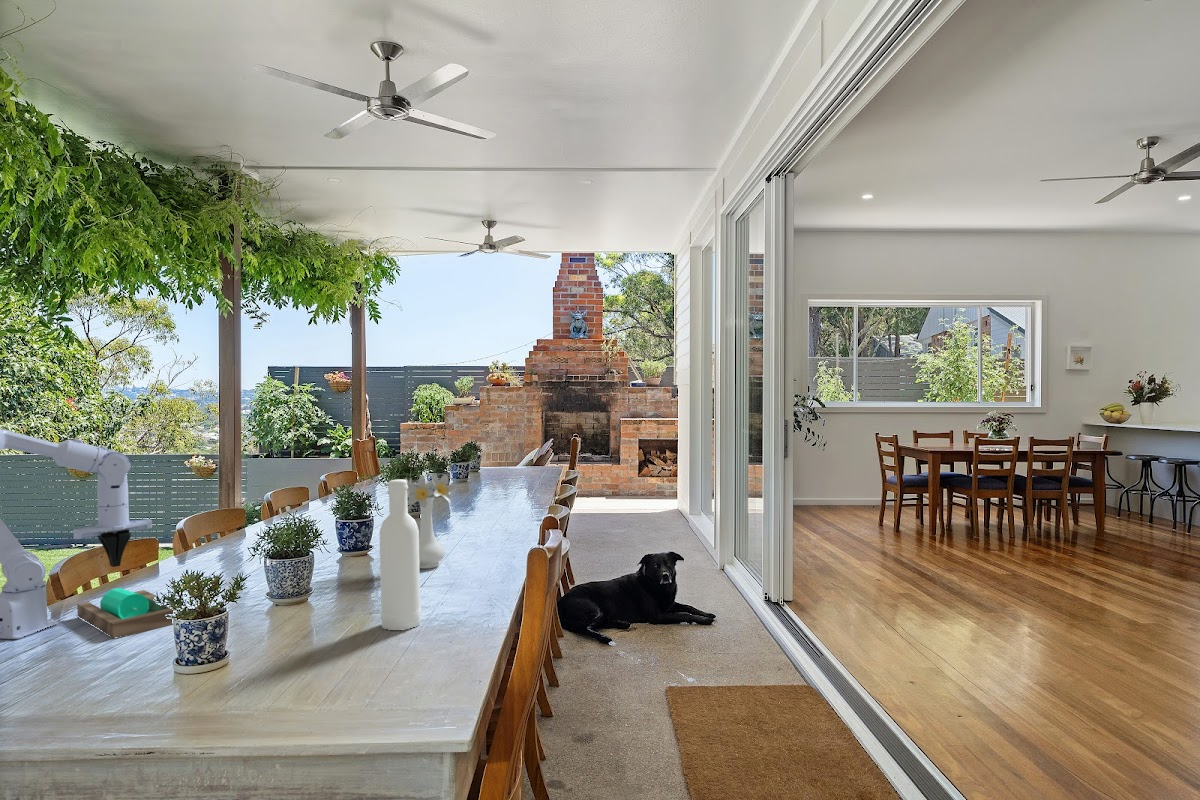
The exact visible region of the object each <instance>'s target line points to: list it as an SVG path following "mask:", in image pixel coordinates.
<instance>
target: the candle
mask: <svg viewBox="0 0 1200 800" xmlns="http://www.w3.org/2000/svg"><path fill="white" fill-rule="evenodd" d="M134 592H135V591H134ZM134 592H133V591H131V590H129V589H124V588H120V587H116V588H113V589H110V590H108V591H107V592H105V593H104V594H103V596H102V598H101V600H100V608H101V609H102V610H104V611H106V612H108V613H110V614H112V615H114V616H115V617H117V618H119V619H125V618H130V617H134V616H138V615H143V614H146V613H147V611H148V610H149V602H148V600H147V599H146V597H145V596H143V595H140V594H137V593H134Z"/></svg>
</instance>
